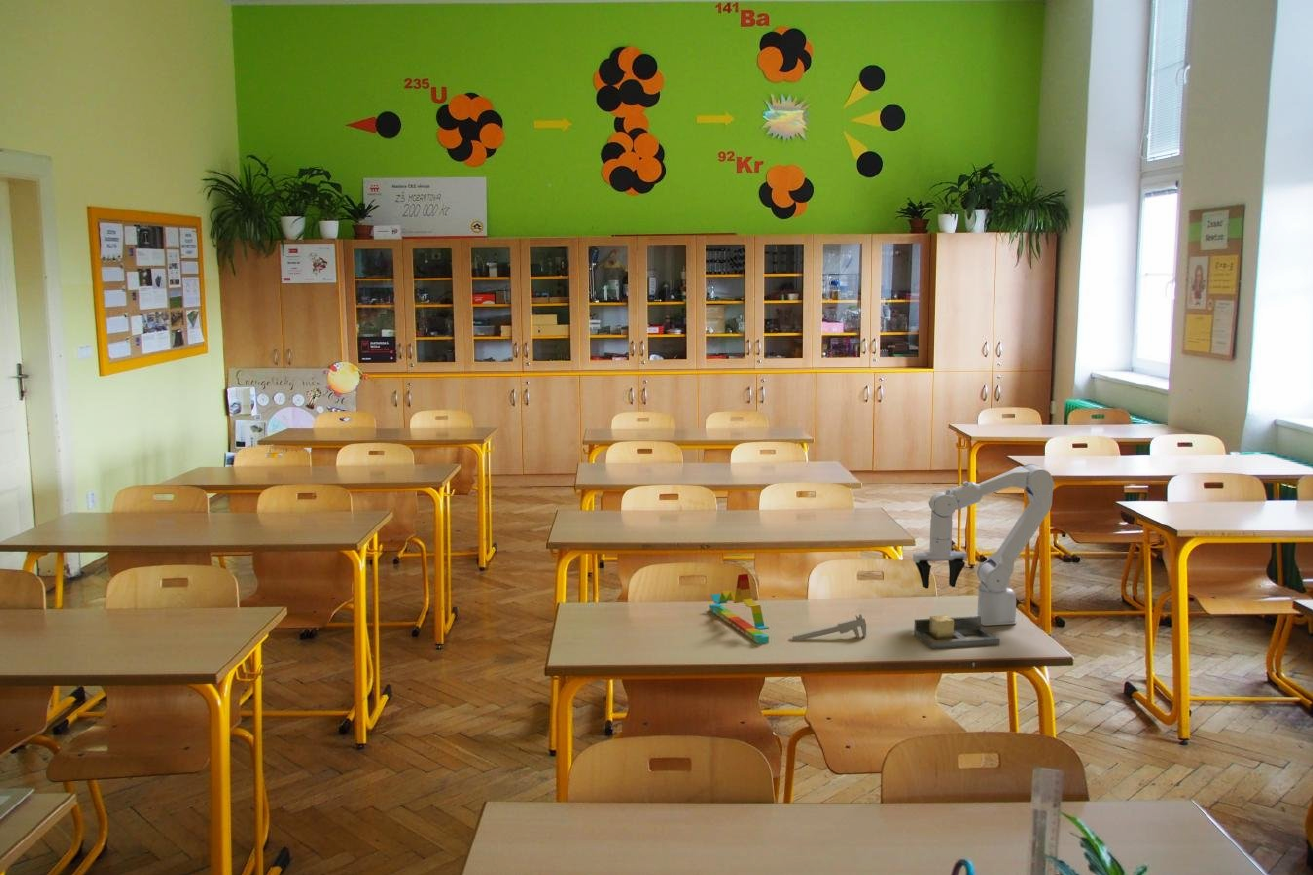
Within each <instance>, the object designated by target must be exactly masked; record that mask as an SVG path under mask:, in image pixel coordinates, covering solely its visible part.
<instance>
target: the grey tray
mask: <svg viewBox="0 0 1313 875" xmlns="http://www.w3.org/2000/svg"><path fill="white" fill-rule="evenodd" d="M950 618H951V619H953V620H954V637H953V639H948V640H934V639H933V638H931V637H930V636H929V620H930V618H923V619H921V618H920V619H914V627H913V628H914V630H913V635H914V636H915V637H916V638H918V639H919V640H920V639H921V642H923V643H924V644H925V643H926V645H927V646H928V647H929V648H931V649H934V650H935V649H948V648H965V647H979V646H980V647H982V646H993V645H994V646H996V645H1000V638H999V637H997V636H996V635H994V634H993V633H992V632H990V631H988V630H987V629H985V628H984V627H982V624H981V617H980V616H972V617H971V616H959V617H950ZM973 635H977V636H979V637H965V636H973Z"/></svg>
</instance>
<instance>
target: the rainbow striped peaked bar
mask: <svg viewBox="0 0 1313 875" xmlns="http://www.w3.org/2000/svg"><path fill="white" fill-rule="evenodd" d="M736 582H737V583H736V589H735V590H733V591H732V590H722V591H721V593H713V594H710V598H711V600H712V601H713V604H709V606H708V607H709V608H708V610H709V611H710V612H711V613H712V614H714V615H715V614H716V616H717V617H718V616H719V617H718V618H720V619H721V618H722V620H723V621H724V622H726V623H727V624H728V623H729V625H730V626H731V625H732V626H731V627H733V628H734V627H735V628H734V629H735V630H737V631H738V632H741V633H742V634H743V635H744V636H746V638H748V639H750V640H752V641H753V642H755V643H756V644H758V645H761V644H768V643H770V636H769V635H767V634H766V633H764V632H763V631H762V630H770V627H769V626H765V622H764V618H763V617H764V616H763V612H762V607H761V604H757V603H756V602H755V600H753V598H752V594H751V587H750V581H749V574H748V573H744V574H738V576H737V581H736ZM728 601H733V603H734V604H738V603H744V604H745V606H746V607H748V608H751V614H752V618H753V624H754V626H753V625H752V624H750V623H749V622H747V620H745V619H743V618H741V617H740V616H738V615H737V614H736V613H734V612H732V611H731V610H729V609H728V608H727V607H725V606H723V605H722V604H727V603H728Z"/></svg>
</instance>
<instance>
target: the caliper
mask: <svg viewBox="0 0 1313 875" xmlns="http://www.w3.org/2000/svg"><path fill="white" fill-rule="evenodd" d="M859 627H860V630H861V633H862V634H861V635H862V637H863V638H865V637H866V636H867V624H866V619H865V618H864V617H863V616H862V614H861V613H859V615H858V616H857V615H855V619H854V618H853V619H850V620H846V621H842V622H838V624H836V625H831V626H828V627H827V626H826V627H824V628H819V629H818V628H817V629H814V630H811V631H806V632H802V633H797V634H793V635H792V637H790V638H788V639H787V640H788V641H789V642H792V641H794V642H799V640H801V641H804V640H809V639H813V638H817V637H820V636H825V635H830V634H834V633H840V634H841V635H843V634H847V633H849V632H850V631H853V634H854V635H855V637H856V638H860V632H859V629H858V628H859Z"/></svg>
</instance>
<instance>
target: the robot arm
mask: <svg viewBox="0 0 1313 875" xmlns="http://www.w3.org/2000/svg"><path fill="white" fill-rule="evenodd" d="M961 483H962V485H959V486H956V487H953V488H946V489H945V490H944V491H945V492H943V491H938V492H935V493H933V494H932V495H931V496H930V499H929V500H928V507H929V508H930V509H931V511H930V522H929V523H930V525H929V526H930V528H929V547H928V548H929V550H928V551H926V552H925V551H924V552H920V553H919V552H918V553H913V554H912V561H913V562H914V563H915V566H916V567H917V570H918V572H919V574H920V579H921V584H922V587H923V588H925V589H929V583H930V581H929V580H930V574H931V569H932V568H931V567H932V565H930V564H929V563H930V562H937V561H938V562H939V561H941V562H943V561H948V567H949V574H948V575H949V578H948V583H949V585H948V586H950V587H951V588H955V587H956V584H957V581H958V578H959V576H960V574H961V572H962V570H963V569H964V567H965V565H966V562H965V561H967V560H968V553H967V552H965V551H953V550H952V542H953V541H952V540H953V515H954V513H955V512H956V511H959V510H960V509H964V508H966V507H968V506H969V507H970V506H972V505H974V504H977V503H979V502H981V500H982V498H983V497H984V496H986V495H988V494H993V493H995V492H999V491H1002V490H1004V489H1008V488H1011V487H1014V488H1019V489H1025V491H1026V495H1027V498H1028V502H1029V503H1028V504H1027V505H1026V508H1025V509H1024V511H1023V512H1022V513H1021V515H1020V516H1019V518H1018V519H1017V521H1016V523H1014V525H1013V527H1012V528H1011V530H1010V531H1009V533H1008V534H1007V536H1006V538H1005V539H1004V540H1003V542H1002V543H1001V545H1000V547H999V548H998V549H997V551H995V552H993V553H991V555H989V557H988V558H987V559H986V560H985V561H983V562H981V563H980V564H979V565H978V567H977V572H976V574H977V577H978V579H979V580H980V583H979V585H978V595H977V596H978V597H977V614H976V615H975V614H972V615H970V617H972V616H980V617H981V626H984V627H987V626H988V627H989V626H1002V625H1003V626H1006V625H1017V624H1018V623H1017V621H1016V616H1017V614H1016V611H1017V597H1016V592H1015V591H1014V589H1012V588H1010V587H1009V584H1010V578H1011V576H1012V574H1013V573H1014V571H1015V570H1014V568H1015V562H1016V561H1017V559H1018V558H1019V556H1020V555H1021V554H1022V552H1023V550H1024V549H1025V547H1026V546H1027V545H1028V543H1029V542H1030V540H1031V538H1032V537H1033V536H1034V534H1035V532H1037V530H1038V528H1039V527H1040V526H1041V524H1042V523H1043V521H1044V519H1045V517H1047V515H1048V513H1049V512H1050V511H1051V509H1052V506H1053V494H1054V493H1053V492H1054V489H1055V487H1056V484H1055V481H1054V479H1053V476H1052V475H1051V473H1050V472H1049V471H1048V470H1046V469H1043V468H1041V467H1040V466H1039V465H1038V464H1035V463H1027V464H1024V465H1023V466H1022V465H1021V466H1017V467H1014V468H1012V469H1010V470H1008V471H1005V472H1004V473H1000V474H999V475H997V476H994V477H991V478H989V479H986V480H984V481H982V482H980V483H976V482H973V481H967V480H965V481H963V482H961Z"/></svg>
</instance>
